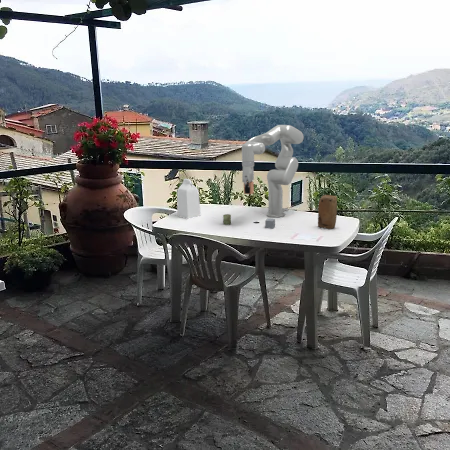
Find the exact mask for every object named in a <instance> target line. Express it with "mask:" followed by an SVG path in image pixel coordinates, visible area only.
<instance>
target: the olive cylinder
mask: <svg viewBox="0 0 450 450" xmlns="http://www.w3.org/2000/svg"><path fill="white" fill-rule="evenodd" d="M222 216H223V217H222V218H223V225H224V226H230V225H232V214H230V213H227V214H226V213H225V214H222Z"/></svg>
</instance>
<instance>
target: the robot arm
mask: <svg viewBox="0 0 450 450" xmlns="http://www.w3.org/2000/svg"><path fill="white" fill-rule="evenodd" d="M304 138H305V137H304V134H303V132H302V131H301V130H299V129H297V128H296V127H295V126H292V125H290V124H278V125H275V126H274V127H272V128H271V129H270V130H268V131H267V132H265V133H262V134H259V135H256V136H254V137H252V138H249V139H248V140H247V141H246V142H245V143H243V144H241V165H242V171H241V173H242V174H241V175H242V177H241V178H242V181H241V183H243V185H244V184H245V193H250V187H249V184H250V182H254V180H255V174H254V173H255V172H254V171H255V170H254V167H255V156H256V155H262V154H264V153H265V152H266V147H267V146H272V145H274V144H275V143H276V142H278V141H280V144H281V148H280V149H281V150H280V152H279V154H278V156H277V158H276V159H275V163H274V167H275V169H270V170H269V171H268V172H267V175H266V181H267V189H268V212H266V217H269V218H282V217H285V216H286V215H285V212H288V208H284V207H283V203H284V202H283V196H284V195H283V194H284V191H283V187H282V186H288V185H290V184H291V183H292V182H293V179H294V177H295V174H296V173H297V170H298V168H299V161H298V159H297V158H296V157H295V156H293V154H294V148H293V147H292V144H293V145H299V144H302V142H303V141H304ZM247 183H248V184H247Z"/></svg>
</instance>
